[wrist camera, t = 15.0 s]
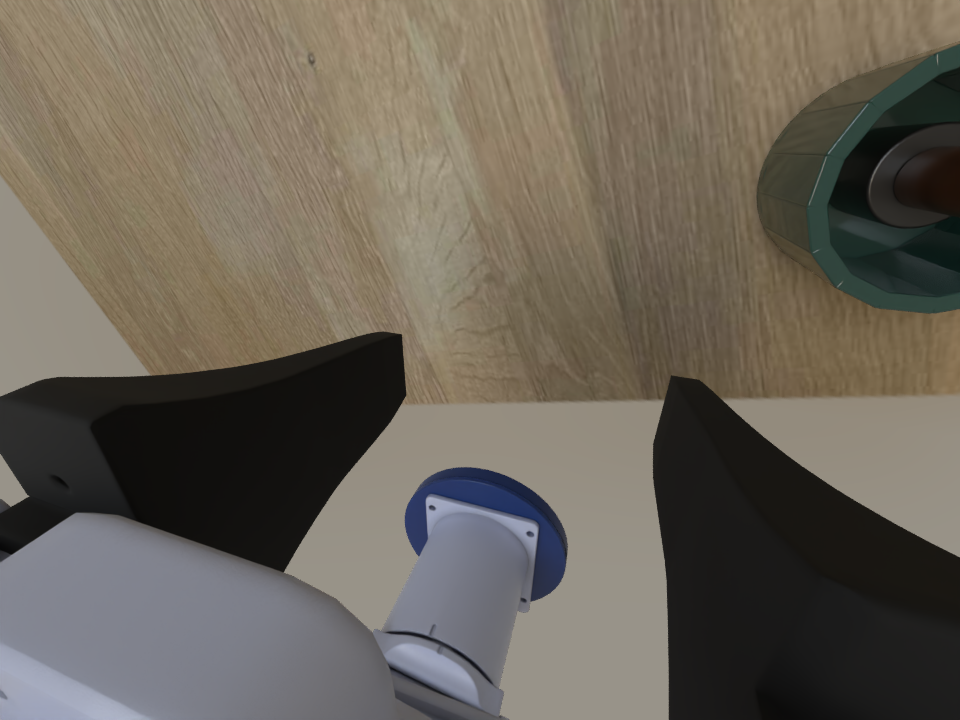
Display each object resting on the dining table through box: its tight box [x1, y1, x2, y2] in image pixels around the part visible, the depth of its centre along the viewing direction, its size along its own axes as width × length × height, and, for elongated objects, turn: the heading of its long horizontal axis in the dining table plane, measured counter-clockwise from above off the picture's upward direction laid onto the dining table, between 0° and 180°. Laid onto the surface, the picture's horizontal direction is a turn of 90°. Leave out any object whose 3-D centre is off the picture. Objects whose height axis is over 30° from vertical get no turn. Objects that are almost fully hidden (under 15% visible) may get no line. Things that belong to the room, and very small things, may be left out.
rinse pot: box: [757, 41, 960, 314], centre depth 13 cm, size 7×7×6 cm
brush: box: [829, 121, 960, 229], centre depth 11 cm, size 3×3×7 cm
